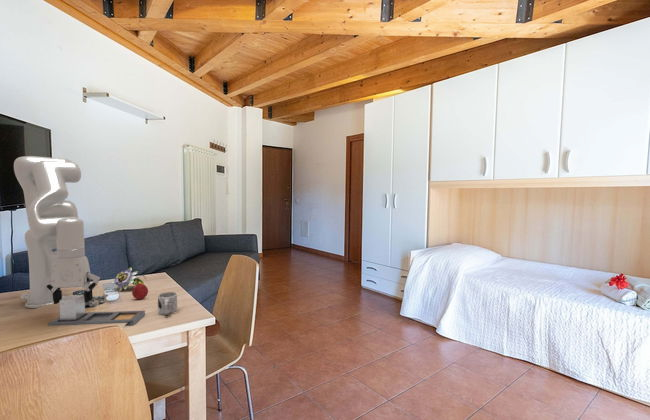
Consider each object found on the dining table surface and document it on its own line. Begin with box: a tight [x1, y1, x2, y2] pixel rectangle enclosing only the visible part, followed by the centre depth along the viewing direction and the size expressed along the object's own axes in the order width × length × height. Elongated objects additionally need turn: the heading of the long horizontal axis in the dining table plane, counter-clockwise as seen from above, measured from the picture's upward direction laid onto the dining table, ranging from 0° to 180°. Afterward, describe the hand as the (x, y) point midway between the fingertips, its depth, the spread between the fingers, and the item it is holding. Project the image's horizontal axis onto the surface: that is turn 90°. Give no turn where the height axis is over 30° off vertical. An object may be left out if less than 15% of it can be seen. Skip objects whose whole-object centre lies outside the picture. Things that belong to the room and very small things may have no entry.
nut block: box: [59, 294, 86, 322], centre depth 110 cm, size 5×5×8 cm
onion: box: [131, 282, 149, 300], centre depth 133 cm, size 6×6×8 cm
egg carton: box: [85, 294, 109, 307], centre depth 127 cm, size 11×8×4 cm
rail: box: [47, 310, 146, 327], centre depth 112 cm, size 27×9×2 cm, turn 98°
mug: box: [157, 291, 178, 316], centre depth 120 cm, size 10×7×7 cm, turn 22°
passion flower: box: [111, 267, 147, 292], centre depth 148 cm, size 11×11×12 cm
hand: (73, 302), depth 110 cm, fingers open, 9 cm apart
